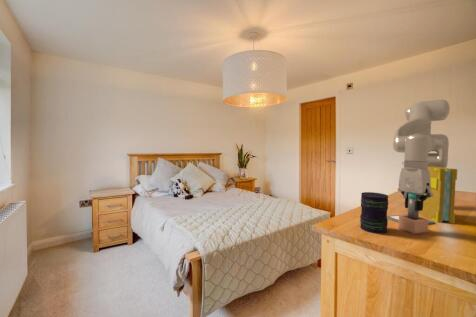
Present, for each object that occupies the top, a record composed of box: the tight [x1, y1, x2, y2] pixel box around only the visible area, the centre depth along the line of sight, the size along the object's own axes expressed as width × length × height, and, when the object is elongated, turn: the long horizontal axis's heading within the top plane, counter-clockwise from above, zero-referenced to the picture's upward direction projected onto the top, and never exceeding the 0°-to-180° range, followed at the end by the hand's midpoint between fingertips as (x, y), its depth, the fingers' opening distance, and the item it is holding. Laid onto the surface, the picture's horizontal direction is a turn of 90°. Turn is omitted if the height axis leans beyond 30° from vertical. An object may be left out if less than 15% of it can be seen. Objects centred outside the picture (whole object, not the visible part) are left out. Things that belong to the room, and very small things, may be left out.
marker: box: [407, 192, 420, 220], centre depth 91 cm, size 4×4×12 cm
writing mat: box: [387, 213, 436, 225], centre depth 104 cm, size 15×12×1 cm
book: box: [419, 166, 459, 224], centre depth 108 cm, size 17×7×25 cm, turn 168°
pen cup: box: [398, 214, 429, 235], centre depth 91 cm, size 7×7×6 cm
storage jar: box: [359, 191, 389, 235], centre depth 92 cm, size 10×10×15 cm
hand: (413, 208), depth 91 cm, fingers closed on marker, 3 cm apart
